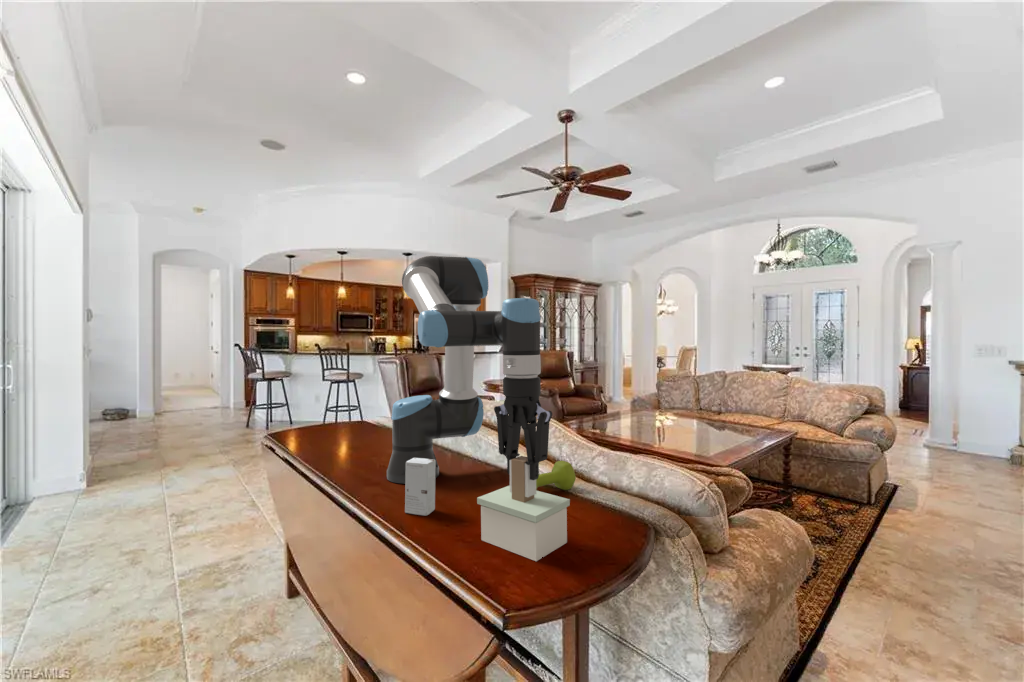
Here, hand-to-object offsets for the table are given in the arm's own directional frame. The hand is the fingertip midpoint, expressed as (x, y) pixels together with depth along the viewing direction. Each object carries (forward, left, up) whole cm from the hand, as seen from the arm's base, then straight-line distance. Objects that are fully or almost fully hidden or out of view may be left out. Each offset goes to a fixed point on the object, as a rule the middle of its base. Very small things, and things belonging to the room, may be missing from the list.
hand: (522, 492), depth 93 cm
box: (0, 0, -10) cm, 10 cm away
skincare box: (-29, -3, -10) cm, 31 cm away
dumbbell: (-14, +26, -10) cm, 31 cm away
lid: (0, 0, -4) cm, 4 cm away
